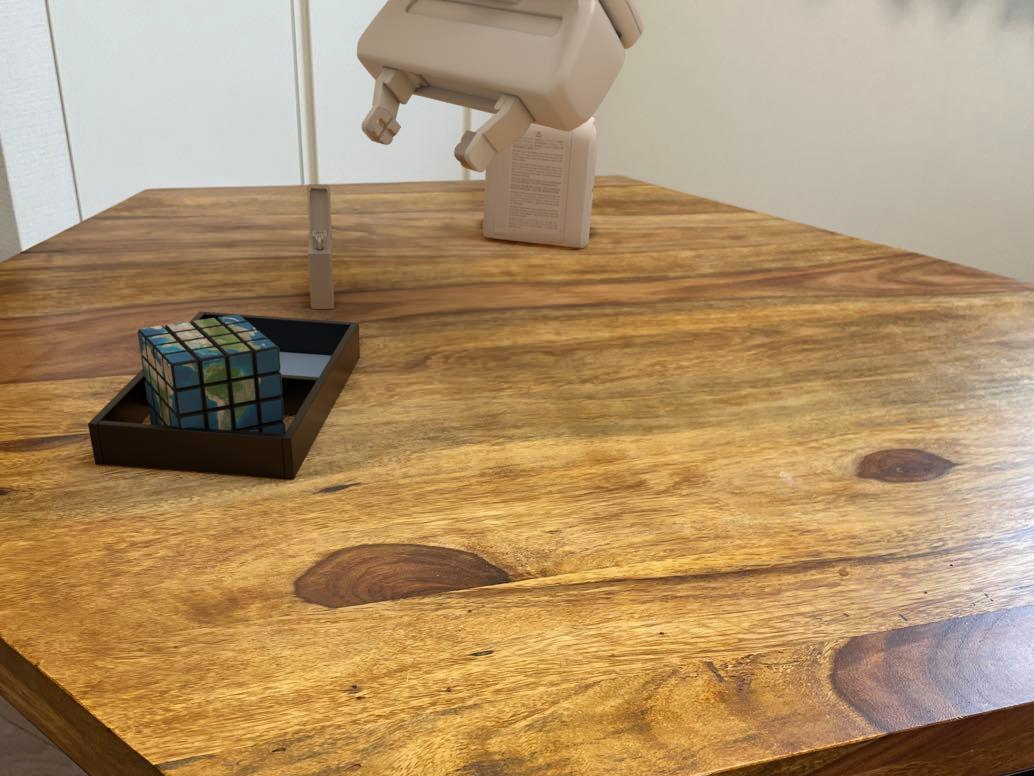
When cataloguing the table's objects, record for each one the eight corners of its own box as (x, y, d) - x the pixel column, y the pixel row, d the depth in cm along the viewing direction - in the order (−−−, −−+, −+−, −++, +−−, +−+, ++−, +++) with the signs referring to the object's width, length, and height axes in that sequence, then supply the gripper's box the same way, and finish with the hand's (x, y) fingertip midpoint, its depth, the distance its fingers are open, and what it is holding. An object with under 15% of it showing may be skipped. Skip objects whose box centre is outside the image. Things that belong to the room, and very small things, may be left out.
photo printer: (591, 240, 104) (602, 104, 97) (586, 252, 100) (597, 111, 94) (487, 230, 105) (491, 94, 98) (478, 241, 101) (482, 101, 95)
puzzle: (183, 467, 58) (170, 364, 55) (150, 426, 63) (136, 328, 60) (287, 445, 62) (280, 346, 58) (248, 407, 66) (240, 312, 63)
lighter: (333, 308, 82) (329, 203, 78) (310, 308, 82) (304, 202, 78) (334, 280, 88) (329, 181, 84) (312, 280, 88) (307, 180, 84)
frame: (94, 464, 59) (87, 423, 57) (203, 345, 74) (199, 311, 73) (294, 479, 58) (291, 438, 57) (360, 356, 74) (359, 322, 73)
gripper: (402, -70, 74) (294, 92, 73) (625, -47, 62) (500, 147, 61) (451, -1, 79) (350, 152, 78) (665, 33, 68) (550, 213, 67)
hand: (418, 150), depth 70 cm, fingers open, 8 cm apart
